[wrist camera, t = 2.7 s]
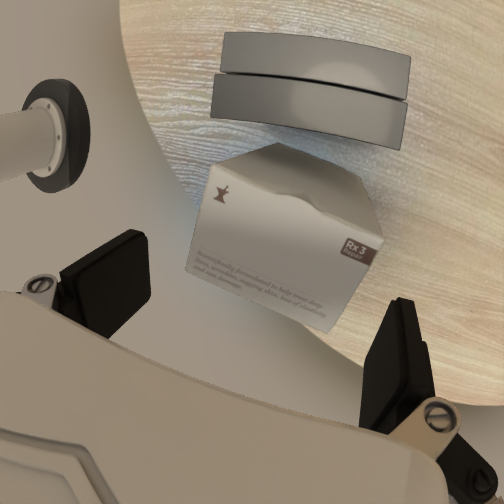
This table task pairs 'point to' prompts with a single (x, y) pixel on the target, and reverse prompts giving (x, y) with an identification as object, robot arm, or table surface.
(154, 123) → the table surface
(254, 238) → the cosmetic box
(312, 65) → the grey box
